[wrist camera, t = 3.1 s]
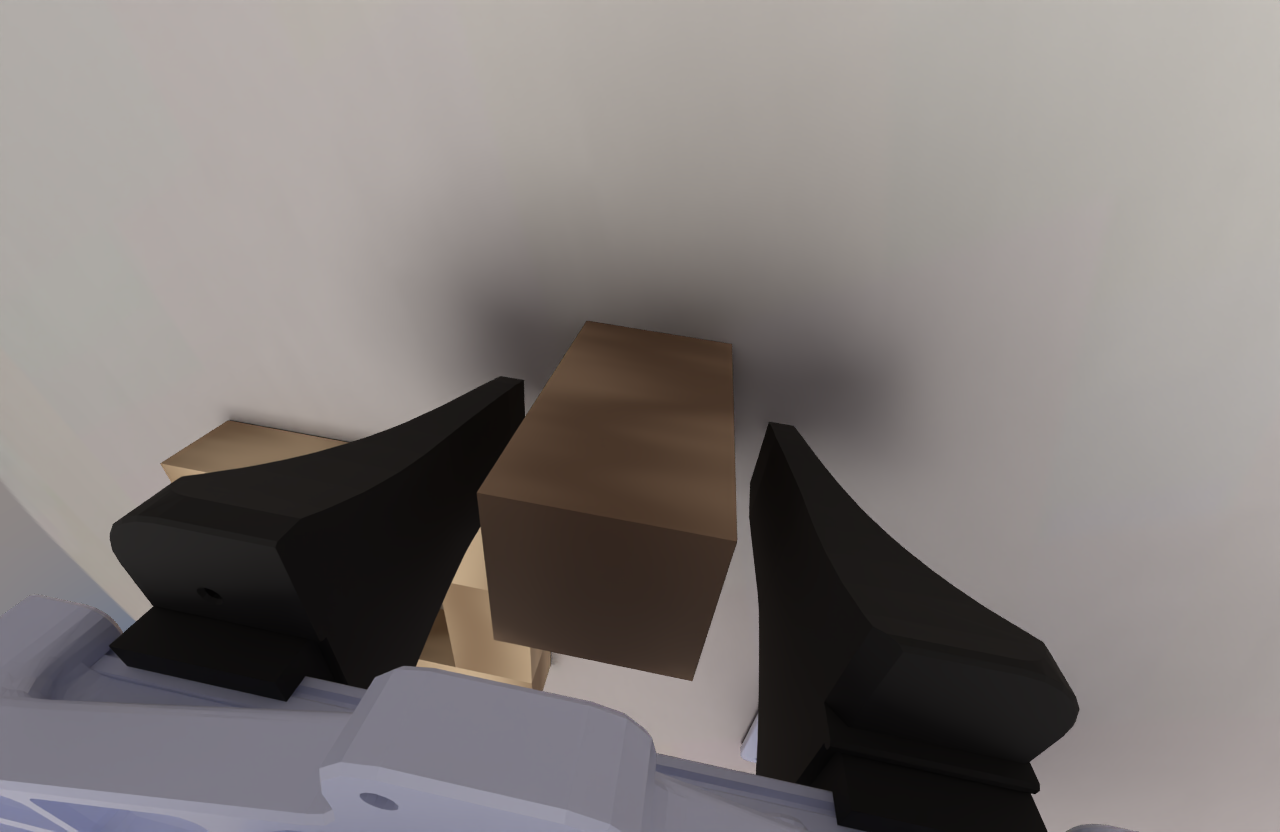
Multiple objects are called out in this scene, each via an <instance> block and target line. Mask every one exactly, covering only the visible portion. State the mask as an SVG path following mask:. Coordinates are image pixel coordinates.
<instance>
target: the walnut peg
mask: <svg viewBox="0 0 1280 832" xmlns="http://www.w3.org/2000/svg"><path fill="white" fill-rule="evenodd" d="M477 500H478V508H479V517H480V526H481V534H482V543H483V551H484V560H485V569H486V577H487V586H488V594H489V603H490V612H491V620H492V629H493V637H494V640H497V641H501V642H506V643H511V644H516V645H521V646H526V647H530V648H535V649H540V650H545V651H550V652H554V653H559V654H564V655H569V656H574V657H579V658H583V659H588V660H593V661H598V662H603V663H607V664H612V665H617V666H622V667H627V668H632V669H636V670H641V671H646V672H651V673H656V674H660V675H665V676H670V677H675V678H680V679H685V680H689V681H693V677H694V674H695V671H696V668H697V665H698V662H699V659H700V656H701V653H702V649H703V646H704V643H705V640H706V637H707V634H708V631H709V628H710V625H711V621H712V618H713V615H714V612H715V609H716V606H717V603H718V600H719V596H720V593H721V590H722V587H723V584H724V581H725V578H726V575H727V572H728V568H729V565H730V562H731V559H732V556H733V553H734V550H735V547H736V544H737V515H736V477H735V439H734V401H733V363H732V344H729V343H722V342H716V341H710V340H704V339H697V338H691V337H685V336H679V335H672V334H666V333H660V332H654V331H647V330H641V329H635V328H629V327H622V326H616V325H610V324H604V323H598V322H591V321H586V323H585V324H584V326H583V327H582V329H581V330H580V332H579V334H578V335H577V337H576V338H575V340H574V341H573V343H572V345H571V346H570V348H569V349H568V351H567V352H566V354H565V355H564V357H563V359H562V360H561V362H560V363H559V365H558V366H557V368H556V370H555V371H554V373H553V374H552V376H551V377H550V379H549V380H548V382H547V384H546V385H545V387H544V388H543V390H542V391H541V393H540V395H539V396H538V398H537V399H536V401H535V402H534V404H533V405H532V407H531V409H530V410H529V412H528V413H527V415H526V416H525V418H524V419H523V421H522V423H521V424H520V426H519V427H518V429H517V430H516V432H515V434H514V435H513V437H512V438H511V440H510V441H509V443H508V444H507V446H506V448H505V449H504V451H503V452H502V454H501V455H500V457H499V459H498V460H497V462H496V463H495V465H494V466H493V468H492V469H491V471H490V473H489V474H488V476H487V477H486V479H485V480H484V482H483V484H482V485H481V487H480V488H479V490H478V491H477Z"/></svg>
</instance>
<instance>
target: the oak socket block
mask: <svg viewBox="0 0 1280 832" xmlns="http://www.w3.org/2000/svg"><path fill="white" fill-rule="evenodd" d="M346 443H348V442H343V441H338V440H332V439H327V438H321V437H316V436H310V435H305V434H299V433H294V432H289V431H283V430H278V429H272V428H267V427H261V426H256V425H250V424H245V423H240V422H234V421H229V420H228V421H226V422H225V423H223V424H222V425H220V426H219V427H217V428H215V429H214V430H212V431H211V432H209V433H207V434H206V435H204V436H203V437H201V438H200V439H198V440H196V441H195V442H193V443H192V444H190V445H189V446H187V447H185V448H184V449H182V450H181V451H179V452H178V453H176V454H174V455H173V456H171V457H170V458H168V459H167V460H165V461H163V462H162V463H160V464H161V466H162V467H163V469H164V471H165V472H166V474H167V476H168V477H169V479H170V481H171V482H174V481H175V480H177V479H178V478H180V477H182V476H188V475H196V474H203V473H210V472H216V471H223V470H230V469H236V468H243V467H249V466H254V465H260V464H265V463H270V462H275V461H280V460H285V459H289V458H294V457H298V456H302V455H307V454H311V453H315V452H318V451H322V450H325V449H329V448H332V447H336V446H339V445H343V444H346ZM550 666H551V652H550V651H545V650H540V649H535V648H530V647H526V646H521V645H516V644H511V643H506V642H501V641H497V640H494V637H493V629H492V620H491V612H490V603H489V594H488V586H487V577H486V569H485V560H484V551H483V543H482V534H481V527H480V529H479V530H478V532H477V534H476V535H475V537H474V539H473V540H472V542H471V544H470V546H469V548H468V549H467V551H466V553H465V555H464V557H463V559H462V562H461V564H460V566H459V568H458V570H457V572H456V574H455V577H454V579H453V581H452V583H451V585H450V587H449V589H448V592H447V594H446V596H445V599H444V601H443V603H442V605H441V608H440V610H439V612H438V615H437V617H436V619H435V621H434V624H433V626H432V629H431V631H430V633H429V636H428V638H427V641H426V643H425V646H424V648H423V651H422V653H421V655H420V658H419V660H418V663H417V665H416V667H428V668H437V669H441V670H446V671H451V672H455V673H460V674H465V675H469V676H474V677H479V678H483V679H488V680H493V681H497V682H502V683H507V684H511V685H516V686H521V687H525V688H530V689H535V690H539V691H543V688H544V685H545V682H546V678H547V675H548V672H549V669H550Z"/></svg>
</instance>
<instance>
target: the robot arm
mask: <svg viewBox="0 0 1280 832" xmlns="http://www.w3.org/2000/svg"><path fill="white" fill-rule="evenodd" d="M524 418H525V404H524V380H520V379H514V378H508V377H502V376H501V377H498V378H496V379H494V380H492V381H490V382H488V383H486V384H484V385H482V386H480V387H478V388H476V389H474V390H472V391H470V392H468V393H466V394H464V395H462V396H460V397H458V398H456V399H454V400H452V401H450V402H448V403H447V404H445V405H443V406H441V407H438V408H436V409H434V410H432V411H430V412H427V413H425V414H423V415H421V416H419V417H417V418H414V419H412V420H410V421H408V422H406V423H403V424H401V425H398V426H396V427H393V428H391V429H388V430H385V431H383V432H380V433H377V434H374V435H371V436H369V437H366V438H363V439H360V440H357V441H353V442H350V443H346V444H343V445H339V446H336V447H332V448H329V449H325V450H322V451H318V452H315V453H311V454H307V455H302V456H298V457H294V458H289V459H285V460H280V461H275V462H270V463H265V464H260V465H254V466H249V467H243V468H236V469H230V470H223V471H216V472H210V473H203V474H196V475H188V476H182V477H180V478H178V479H177V480H175V481H174V482H172V483H171V484H170V485H168V486H167V487H165V488H164V489H162V490H161V491H160V492H158V493H157V494H155V495H154V496H152V497H151V498H150V499H148V500H147V501H145V502H144V503H142V504H141V505H139V506H138V507H137V508H135V509H134V510H132V511H131V512H129V513H128V514H127V515H125V516H124V517H122V518H121V519H119V520H118V521H117V522H115V523H114V524H113V526H112V529H111V532H110V542H111V546H112V550H113V552H114V554H115V555H116V557H117V559H118V560H119V562H120V563H121V565H122V566H123V567H124V569H125V570H126V571H127V573H128V574H129V575H130V576H131V578H132V579H133V580H134V582H135V583H136V584H137V586H138V587H139V588H140V590H141V591H142V592H143V593H144V595H145V596H146V597H147V599H148V600H149V601H150V603H151V604H152V605H153V607H152V608H151V609H150V610H149V611H148V612H147V613H145V614H144V615H143V616H142V617H141V618H140V619H139V620H137V621H136V622H135V623H134V624H133V625H132V626H131V627H129V628H128V629H127V630H126V631H125V632H124V633H123V632H122V630H121V629H120V627H119V626H118V624H117V623H116V622H115V621H114V620H113V619H112V618H111V617H110V616H108V615H107V614H106V613H104V612H102V611H100V610H98V609H97V608H94V607H91V606H88V605H84V604H80V603H75V602H71V601H66V600H61V599H57V598H52V597H47V596H43V595H29V596H28V597H27V598H25V599H24V600H22V601H21V602H19V603H18V604H17V605H15V606H14V607H12V608H11V609H9V610H8V611H7V612H5V613H4V614H3V615H1V616H0V832H1047V829H1046V827H1045V825H1044V823H1043V820H1042V818H1041V816H1040V814H1039V811H1038V809H1037V807H1036V804H1035V802H1034V800H1033V798H1032V795H1031V793H1032V794H1036V793H1037V792H1039V791H1040V783H1039V781H1038V779H1037V777H1036V775H1035V773H1034V770H1033V768H1032V766H1031V764H1030V761H1031V760H1033V759H1034V758H1035V757H1037V756H1038V755H1039V754H1041V753H1042V752H1043V751H1045V750H1046V749H1047V748H1048V747H1050V746H1051V745H1052V744H1054V743H1055V742H1056V741H1058V740H1059V739H1060V738H1062V737H1063V736H1064V735H1065V734H1066V733H1067V732H1068V731H1069V730H1070V729H1071V728H1072V727H1073V725H1074V723H1075V722H1076V718H1077V715H1078V712H1079V706H1078V702H1077V699H1076V696H1075V694H1074V693H1073V691H1072V689H1071V688H1070V686H1069V684H1068V682H1067V681H1066V679H1065V677H1064V676H1063V674H1062V672H1061V671H1060V669H1059V667H1058V666H1057V664H1056V662H1055V661H1054V659H1053V657H1052V655H1051V654H1050V652H1049V650H1048V649H1047V647H1046V646H1045V644H1044V643H1043V642H1042V641H1040V640H1039V639H1037V638H1035V637H1034V636H1032V635H1030V634H1029V633H1027V632H1025V631H1024V630H1022V629H1020V628H1019V627H1017V626H1015V625H1014V624H1012V623H1010V622H1009V621H1007V620H1006V619H1004V618H1002V617H1001V616H999V615H997V614H996V613H994V612H992V611H991V610H989V609H987V608H986V607H984V606H983V605H981V604H980V603H978V602H977V601H975V600H974V599H972V598H971V597H969V596H968V595H966V594H965V593H963V592H962V591H960V590H959V589H957V588H956V587H955V586H953V585H952V584H950V583H949V582H947V581H946V580H945V579H943V578H942V577H941V576H939V575H938V574H936V573H935V572H934V571H932V570H931V569H930V568H928V567H927V566H926V565H925V564H923V563H922V562H921V561H920V560H918V559H917V558H916V557H915V556H913V555H912V554H911V553H910V552H908V551H907V550H906V549H905V548H903V547H902V546H901V545H900V544H899V543H898V542H896V541H895V540H894V539H893V538H892V537H891V536H890V535H888V534H887V533H886V532H885V531H884V530H883V529H882V528H881V527H880V526H879V525H878V524H877V523H876V522H874V521H873V520H872V519H871V518H870V517H869V516H868V515H867V514H866V513H865V512H864V511H863V510H862V509H861V508H860V507H859V506H858V505H857V503H856V502H855V501H854V500H853V499H852V498H851V497H850V496H849V495H848V494H847V493H846V491H845V490H844V489H843V488H842V487H841V486H840V485H839V483H838V482H837V481H836V480H835V479H834V478H833V476H832V475H831V474H830V473H829V471H828V470H827V469H826V468H825V466H824V465H823V464H822V463H821V461H820V460H819V459H818V457H817V456H816V455H815V453H814V452H813V451H812V450H811V448H810V447H809V446H808V444H807V443H806V442H805V440H804V439H803V437H802V436H801V435H800V433H799V432H798V431H797V430H796V428H795V427H794V426H791V425H785V424H779V423H773V422H769V424H768V427H767V430H766V434H765V437H764V440H763V443H762V446H761V450H760V453H759V456H758V459H757V463H756V466H755V469H754V472H753V475H752V479H751V482H750V504H749V519H750V529H751V538H752V547H753V556H754V564H755V573H756V582H757V590H758V603H759V704H758V714H757V716H756V718H755V720H754V722H753V724H752V726H751V728H750V730H749V732H748V734H747V736H746V738H745V740H744V742H743V744H742V746H741V757H742V758H743V759H744V760H746V761H750V762H755V763H756V775H754V774H749V773H745V772H740V771H736V770H731V769H727V768H722V767H717V766H713V765H708V764H704V763H699V762H695V761H690V760H686V759H681V758H676V757H672V756H667V755H663V754H658V753H656V751H655V747H654V744H653V740H652V737H651V736H650V735H649V733H648V732H647V731H646V729H644V728H643V727H642V726H640V725H639V724H638V723H636V722H635V721H634V720H633V719H631V718H630V717H629V716H627V715H626V714H625V713H622V712H619V711H617V710H614V709H611V708H608V707H605V706H602V705H600V704H597V703H594V702H591V701H586V700H581V699H577V698H572V697H567V696H563V695H558V694H553V693H549V692H544V691H539V690H535V689H530V688H525V687H521V686H516V685H511V684H507V683H502V682H497V681H493V680H488V679H483V678H479V677H474V676H469V675H465V674H460V673H455V672H451V671H446V670H441V669H437V668H428V667H416V665H417V663H418V660H419V658H420V655H421V653H422V651H423V648H424V646H425V643H426V641H427V638H428V636H429V633H430V631H431V629H432V626H433V624H434V621H435V619H436V617H437V615H438V612H439V610H440V608H441V605H442V603H443V601H444V599H445V596H446V594H447V592H448V589H449V587H450V585H451V583H452V581H453V579H454V577H455V574H456V572H457V570H458V568H459V566H460V564H461V562H462V559H463V557H464V555H465V553H466V551H467V549H468V548H469V546H470V544H471V542H472V540H473V539H474V537H475V535H476V534H477V532H478V530H479V529H480V527H481V526H480V517H479V508H478V500H477V491H478V490H479V488H480V487H481V485H482V484H483V482H484V480H485V479H486V477H487V476H488V474H489V473H490V471H491V469H492V468H493V466H494V465H495V463H496V462H497V460H498V459H499V457H500V455H501V454H502V452H503V451H504V449H505V448H506V446H507V444H508V443H509V441H510V440H511V438H512V437H513V435H514V434H515V432H516V430H517V429H518V427H519V426H520V424H521V423H522V421H523V419H524ZM1066 832H1137V831H1132V830H1128V829H1123V828H1118V827H1114V826H1109V825H1101V824H1086V825H1079V826H1076V827H1073V828H1071V829H1069V830H1067V831H1066Z"/></svg>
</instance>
